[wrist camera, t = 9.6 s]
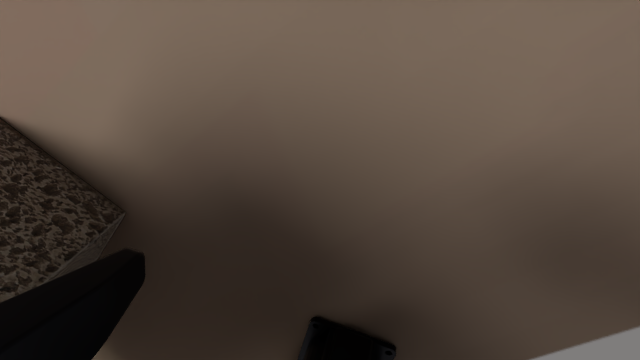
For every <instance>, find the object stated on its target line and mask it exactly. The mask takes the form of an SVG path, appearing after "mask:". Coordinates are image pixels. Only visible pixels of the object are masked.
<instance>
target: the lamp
mask: <svg viewBox="0 0 640 360" xmlns="http://www.w3.org/2000/svg"><path fill="white" fill-rule="evenodd" d="M125 214H126V213H125V212H124V211H123V210H122V209H120V208H119V207H118V206H116V205H115V204H114V203H112V202H111V201H110V200H108V199H107V198H106V197H104V196H103V195H102V194H100V193H99V192H98V191H96V190H95V189H94V188H92V187H91V186H90V185H88V184H87V183H86V182H84V181H83V180H82V179H80V178H79V177H78V176H76V175H75V174H74V173H72V172H71V171H70V170H68V169H67V168H66V167H64V166H63V165H62V164H60V163H59V162H57V161H56V160H55V159H53V158H52V157H51V156H49V155H48V154H47V153H45V152H44V151H43V150H41V149H40V148H39V147H37V146H36V145H35V144H33V143H32V142H31V141H29V140H28V139H27V138H25V137H24V136H23V135H21V134H20V133H19V132H17V131H16V130H15V129H13V128H12V127H11V126H9V125H8V124H7V123H5V122H4V121H3V120H1V119H0V302H3V301H5V300H7V299H9V298H12V297H14V296H16V295H19V294H21V293H23V292H26V291H28V290H30V289H32V288H35V287H37V286H39V285H42V284H44V283H46V282H48V281H51V280H53V279H55V278H58V277H60V276H62V275H64V274H67V273H69V272H71V271H74V270H76V269H78V268H80V267H83V266H85V265H87V264H90V263H92V262H94V261H96V260H97V259H98V257H99V256H100V254H101V252H102V251H103V249H104V248H105V246H106V244H107V243H108V241H109V240H110V238H111V237H112V235H113V233H114V232H115V230H116V229H117V227H118V225H119V224H120V222H121V221H122V219H123V217H124V216H125Z"/></svg>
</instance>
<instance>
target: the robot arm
mask: <svg viewBox="0 0 640 360" xmlns="http://www.w3.org/2000/svg"><path fill="white" fill-rule="evenodd" d="M144 279H145V256H144V254H143V253H142V252H140V251H137V250H135V249H132V248H124V249H122V250H119V251H117V252H115V253H113V254H110V255H108V256H106V257H103V258H101V259H99V260H97V261H94V262H92V263H90V264H87V265H85V266H83V267H80V268H78V269H76V270H74V271H71V272H69V273H67V274H64V275H62V276H60V277H58V278H55V279H53V280H51V281H48V282H46V283H44V284H42V285H39V286H37V287H35V288H32V289H30V290H28V291H26V292H23V293H21V294H19V295H16V296H14V297H12V298H9V299H7V300H5V301H3V302H0V360H92V358H93V357H94V356H95V355H96V353H97V352H98V351H99V350H100V348H101V347H102V346H103V344H104V343H105V342H106V340H107V339H108V337H109V336H110V334H111V333H112V331H113V330H114V328H115V327H116V325H117V323H118V322H119V320H120V319H121V317H122V316H123V314H124V313H125V311H126V309H127V308H128V306H129V305H130V303H131V302H132V300H133V298H134V297H135V295H136V294H137V292H138V291H139V289H140V288H141V286H142V284H143V282H144ZM395 356H396V347H395V346H394V345H392V344H390V343H387V342H384V341H381V340H379V339H376V338H373V337H370V336H368V335H365V334H362V333H360V332H357V331H354V330H351V329H349V328H346V327H343V326H340V325H338V324H335V323H332V322H330V321H327V320H324V319H321V318H319V317H313V318H312V319H311V321H310V324H309V327H308V330H307V333H306V336H305V339H304V342H303V345H302V348H301V351H300V354H299V357H298V360H393V359H394V357H395Z"/></svg>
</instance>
